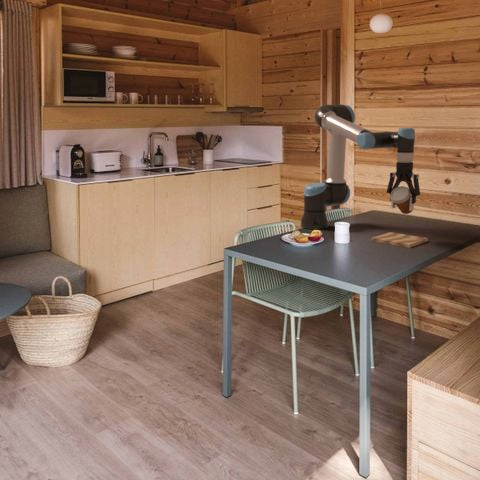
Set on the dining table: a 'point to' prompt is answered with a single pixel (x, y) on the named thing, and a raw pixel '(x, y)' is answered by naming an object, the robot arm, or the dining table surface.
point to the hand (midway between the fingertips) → (402, 209)
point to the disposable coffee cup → (401, 199)
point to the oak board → (399, 239)
